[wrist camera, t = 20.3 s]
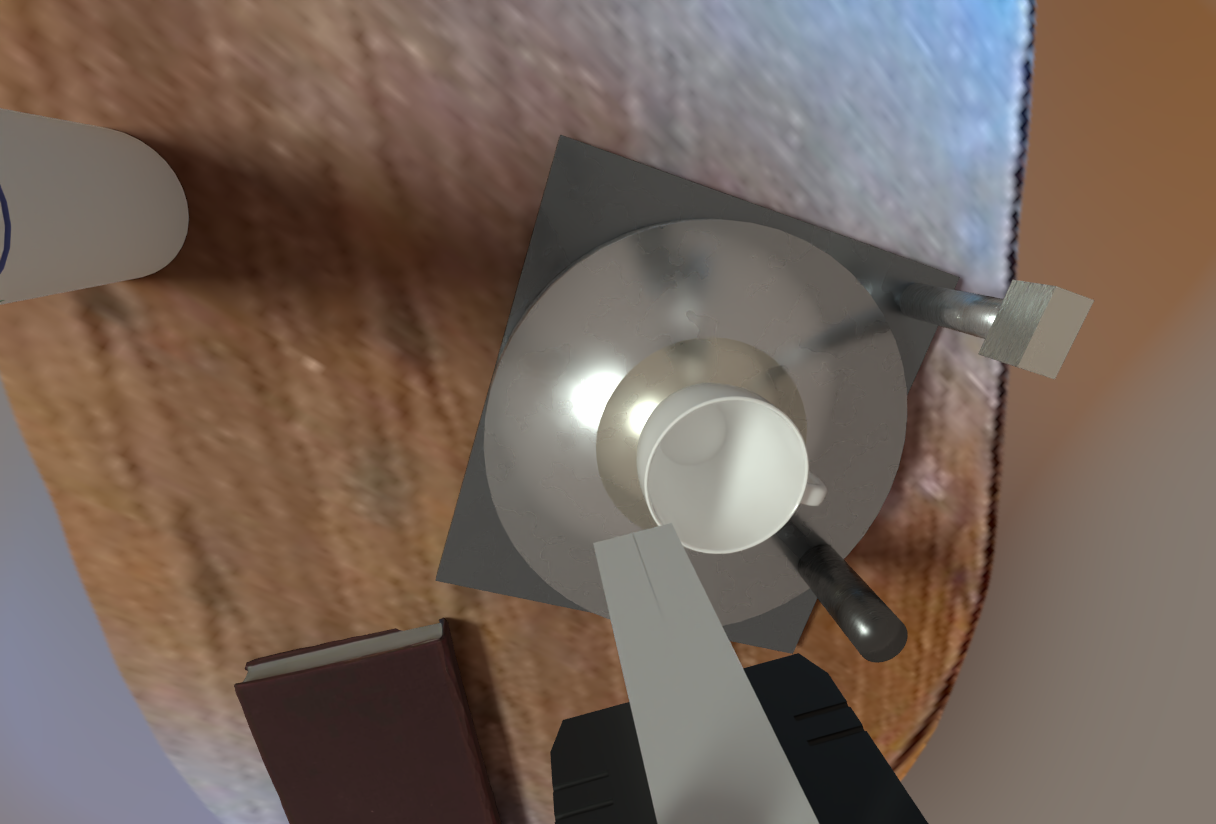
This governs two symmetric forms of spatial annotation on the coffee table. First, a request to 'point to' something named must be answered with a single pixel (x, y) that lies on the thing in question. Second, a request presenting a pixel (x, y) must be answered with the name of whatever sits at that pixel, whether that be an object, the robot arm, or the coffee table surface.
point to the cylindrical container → (82, 207)
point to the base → (642, 196)
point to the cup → (723, 467)
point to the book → (369, 731)
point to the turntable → (686, 355)
